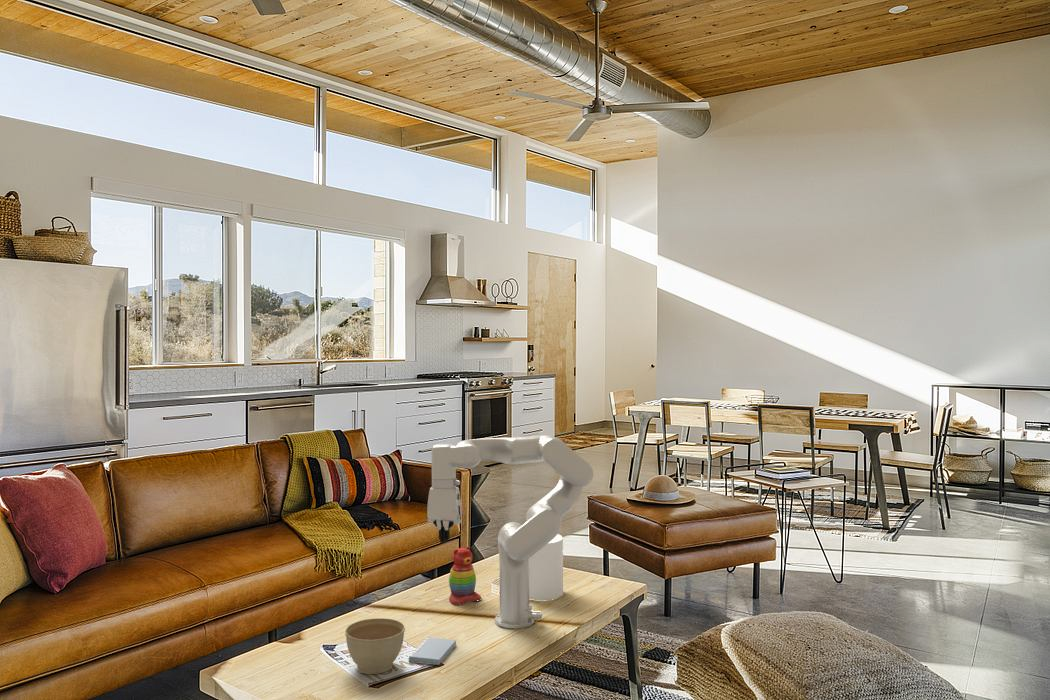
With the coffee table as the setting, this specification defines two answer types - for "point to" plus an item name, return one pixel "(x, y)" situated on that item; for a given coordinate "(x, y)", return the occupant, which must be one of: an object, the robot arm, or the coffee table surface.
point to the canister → (547, 571)
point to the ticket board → (432, 651)
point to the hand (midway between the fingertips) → (444, 541)
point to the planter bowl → (375, 643)
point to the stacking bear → (462, 578)
